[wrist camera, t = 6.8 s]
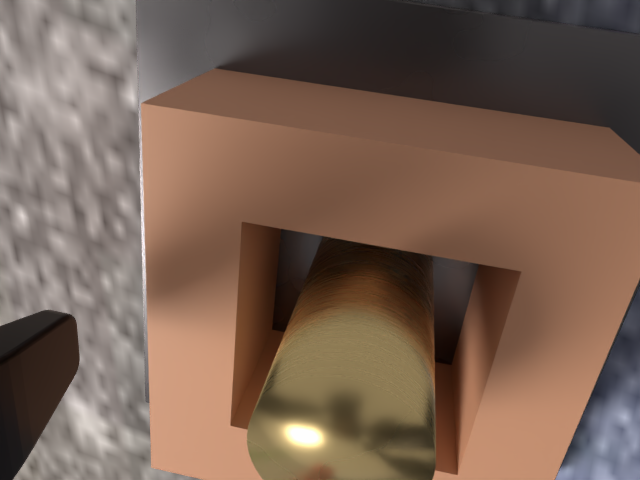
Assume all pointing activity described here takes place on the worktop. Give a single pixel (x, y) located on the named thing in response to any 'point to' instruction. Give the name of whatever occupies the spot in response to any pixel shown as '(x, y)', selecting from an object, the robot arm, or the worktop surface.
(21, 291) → the worktop surface
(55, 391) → the robot arm
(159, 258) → the ring
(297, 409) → the black plate with peg
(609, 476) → the worktop surface
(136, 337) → the worktop surface
